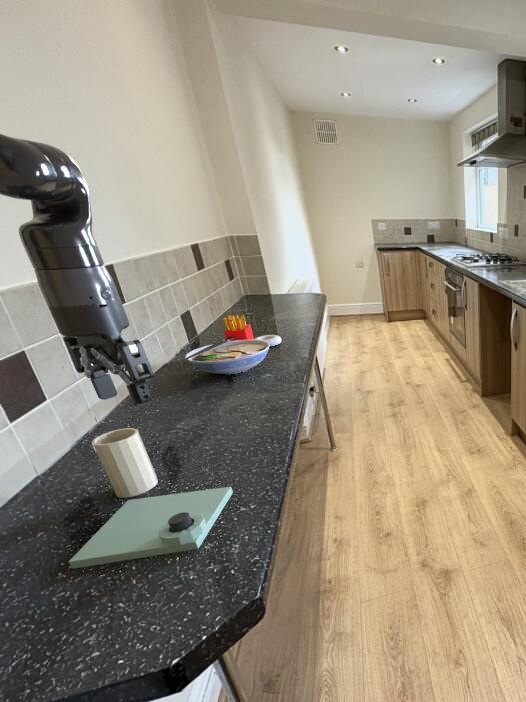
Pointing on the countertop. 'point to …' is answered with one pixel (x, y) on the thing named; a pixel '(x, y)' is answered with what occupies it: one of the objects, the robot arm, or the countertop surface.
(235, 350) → the ramen bowl
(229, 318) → the french fries container
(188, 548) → the scale
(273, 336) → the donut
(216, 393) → the countertop surface
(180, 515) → the button
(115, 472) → the cup
